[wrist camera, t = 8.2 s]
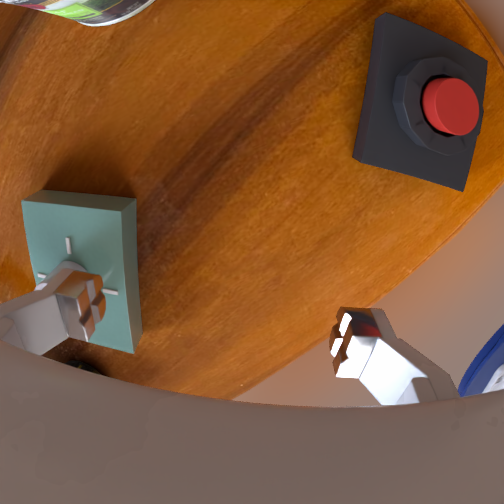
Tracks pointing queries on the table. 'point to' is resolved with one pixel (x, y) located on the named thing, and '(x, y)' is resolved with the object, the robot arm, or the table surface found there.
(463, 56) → the button block
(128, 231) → the rotary dial box
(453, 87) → the button
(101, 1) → the coffee can
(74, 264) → the rotary dial knob
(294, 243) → the table surface
